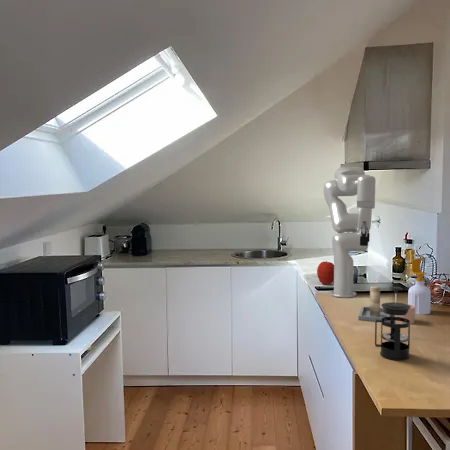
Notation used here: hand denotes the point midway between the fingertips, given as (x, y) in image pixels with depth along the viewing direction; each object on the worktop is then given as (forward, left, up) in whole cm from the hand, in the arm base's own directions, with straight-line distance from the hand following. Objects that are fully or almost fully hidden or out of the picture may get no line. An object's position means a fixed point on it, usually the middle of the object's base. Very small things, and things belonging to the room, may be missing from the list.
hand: (364, 243), depth 212 cm
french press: (+52, +14, -30) cm, 62 cm away
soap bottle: (-4, +23, -30) cm, 38 cm away
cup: (+13, +17, -30) cm, 37 cm away
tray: (+9, +5, -30) cm, 32 cm away
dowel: (+9, +5, -29) cm, 31 cm away
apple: (-51, -24, -30) cm, 64 cm away
